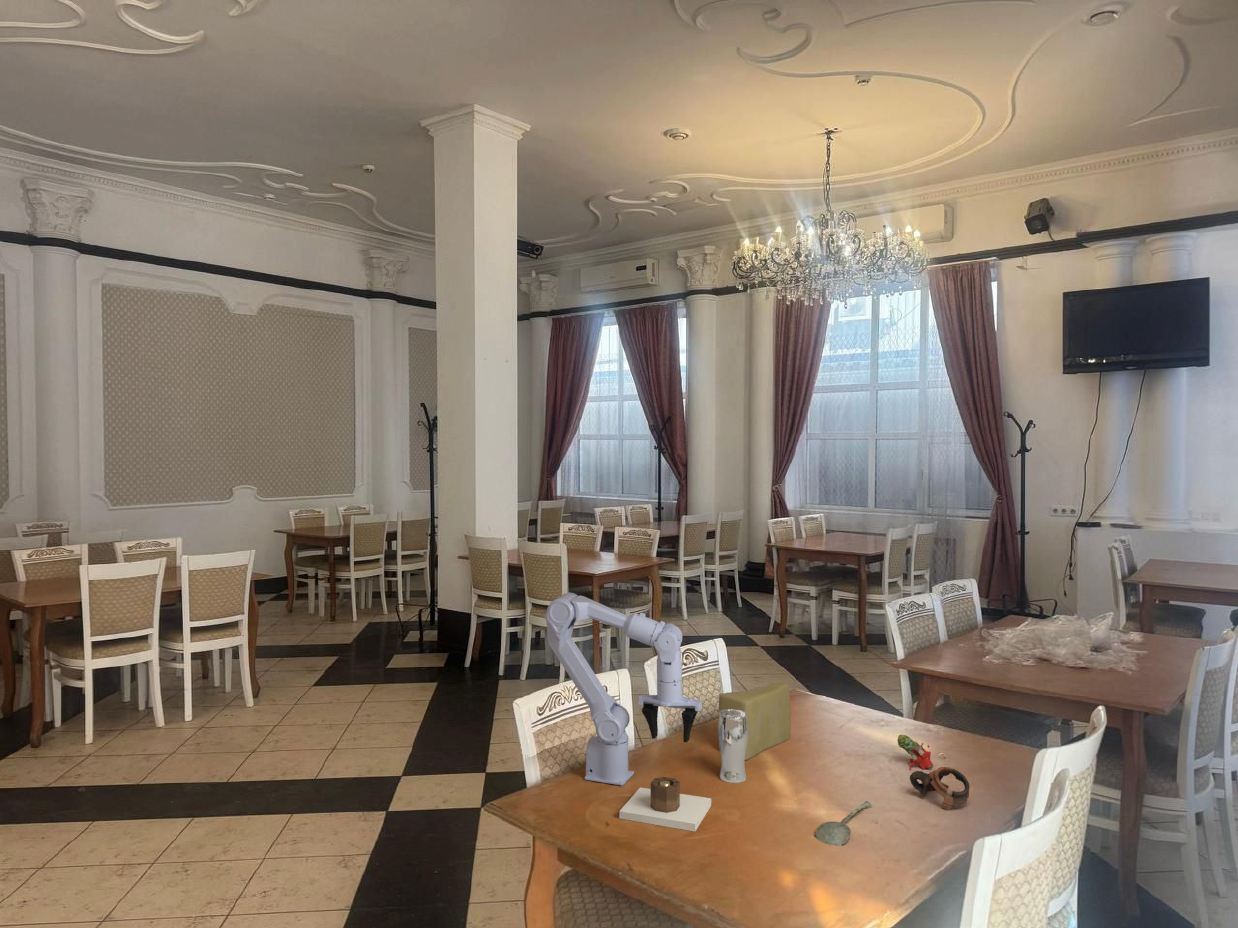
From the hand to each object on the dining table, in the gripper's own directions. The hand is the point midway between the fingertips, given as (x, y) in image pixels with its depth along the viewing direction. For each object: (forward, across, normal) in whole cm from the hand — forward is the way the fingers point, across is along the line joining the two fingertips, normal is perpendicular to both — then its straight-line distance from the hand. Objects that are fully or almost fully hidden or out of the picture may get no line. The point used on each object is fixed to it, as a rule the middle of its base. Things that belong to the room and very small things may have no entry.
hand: (670, 738), depth 184 cm
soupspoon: (+12, +40, -6) cm, 42 cm away
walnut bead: (+8, +4, -16) cm, 19 cm away
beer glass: (+10, +12, +8) cm, 18 cm away
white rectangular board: (+10, +4, -15) cm, 19 cm away
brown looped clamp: (+12, +57, +14) cm, 59 cm away
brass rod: (+10, +4, -16) cm, 19 cm away
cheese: (+11, +14, +31) cm, 36 cm away
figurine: (+12, +52, +32) cm, 62 cm away
